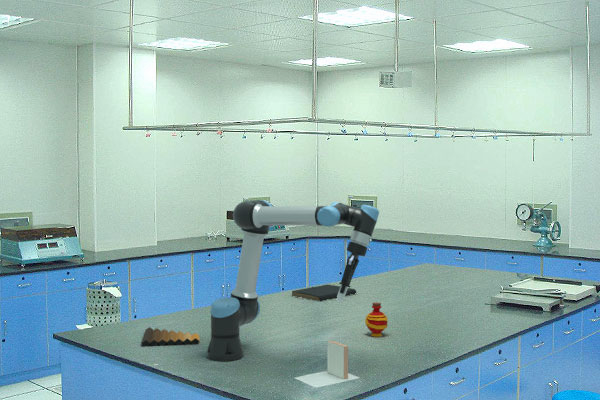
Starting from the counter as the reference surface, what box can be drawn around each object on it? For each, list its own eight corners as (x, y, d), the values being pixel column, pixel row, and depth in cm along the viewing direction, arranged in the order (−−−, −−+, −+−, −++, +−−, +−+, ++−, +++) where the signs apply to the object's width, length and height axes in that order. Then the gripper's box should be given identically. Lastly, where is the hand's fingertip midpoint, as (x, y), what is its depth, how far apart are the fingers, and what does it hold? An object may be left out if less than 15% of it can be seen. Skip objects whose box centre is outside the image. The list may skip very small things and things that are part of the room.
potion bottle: (375, 331, 322) (375, 300, 322) (392, 335, 315) (392, 303, 314) (360, 335, 316) (360, 303, 315) (376, 339, 308) (377, 306, 307)
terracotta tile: (331, 371, 256) (331, 340, 256) (348, 378, 248) (348, 345, 248) (327, 372, 255) (327, 341, 255) (343, 379, 247) (343, 346, 246)
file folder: (327, 283, 438) (356, 288, 421) (327, 290, 438) (356, 295, 421) (291, 290, 414) (320, 296, 397) (291, 297, 414) (320, 303, 397)
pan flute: (145, 334, 320) (141, 347, 296) (145, 327, 320) (141, 340, 296) (199, 332, 324) (199, 345, 300) (198, 325, 324) (199, 337, 299)
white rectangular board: (336, 370, 260) (336, 368, 260) (360, 379, 249) (360, 377, 249) (293, 379, 249) (293, 377, 249) (316, 389, 237) (316, 387, 237)
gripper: (366, 244, 257) (345, 304, 254) (369, 249, 270) (350, 305, 267) (347, 238, 259) (327, 297, 256) (351, 243, 272) (332, 299, 269)
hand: (339, 301), depth 262 cm, fingers closed
